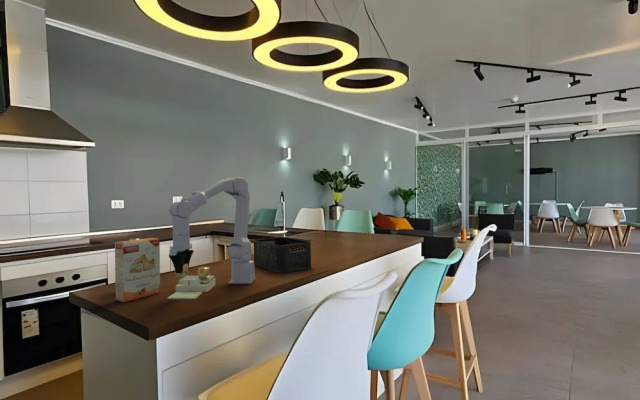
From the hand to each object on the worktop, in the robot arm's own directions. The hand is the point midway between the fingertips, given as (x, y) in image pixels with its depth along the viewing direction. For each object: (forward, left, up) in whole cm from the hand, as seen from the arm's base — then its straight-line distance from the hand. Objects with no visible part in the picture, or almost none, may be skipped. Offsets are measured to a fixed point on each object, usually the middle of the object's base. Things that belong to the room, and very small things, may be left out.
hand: (182, 271), depth 128 cm
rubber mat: (-1, 0, -9) cm, 9 cm away
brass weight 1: (0, 0, -1) cm, 1 cm away
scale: (-1, -11, -9) cm, 14 cm away
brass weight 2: (-4, -12, -5) cm, 13 cm away
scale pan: (-1, -11, -7) cm, 13 cm away
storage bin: (-29, -50, -10) cm, 59 cm away
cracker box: (+16, 0, -9) cm, 19 cm away
